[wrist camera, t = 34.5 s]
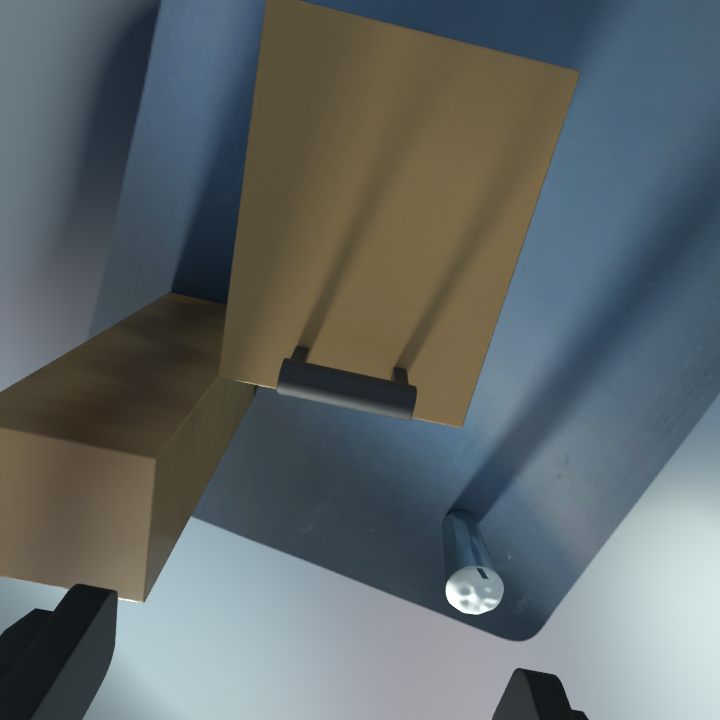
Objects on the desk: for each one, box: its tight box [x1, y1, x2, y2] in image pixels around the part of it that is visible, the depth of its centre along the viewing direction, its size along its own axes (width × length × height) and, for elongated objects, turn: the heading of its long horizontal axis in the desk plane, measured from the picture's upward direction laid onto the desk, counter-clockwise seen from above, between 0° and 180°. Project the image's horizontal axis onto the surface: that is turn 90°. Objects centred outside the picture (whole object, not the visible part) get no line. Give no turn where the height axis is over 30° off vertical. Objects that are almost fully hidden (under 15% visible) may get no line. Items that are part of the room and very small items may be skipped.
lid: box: [218, 0, 580, 428], centre depth 22 cm, size 17×13×5 cm
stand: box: [0, 292, 255, 603], centre depth 32 cm, size 8×8×22 cm
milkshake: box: [442, 510, 504, 614], centre depth 43 cm, size 4×5×10 cm
